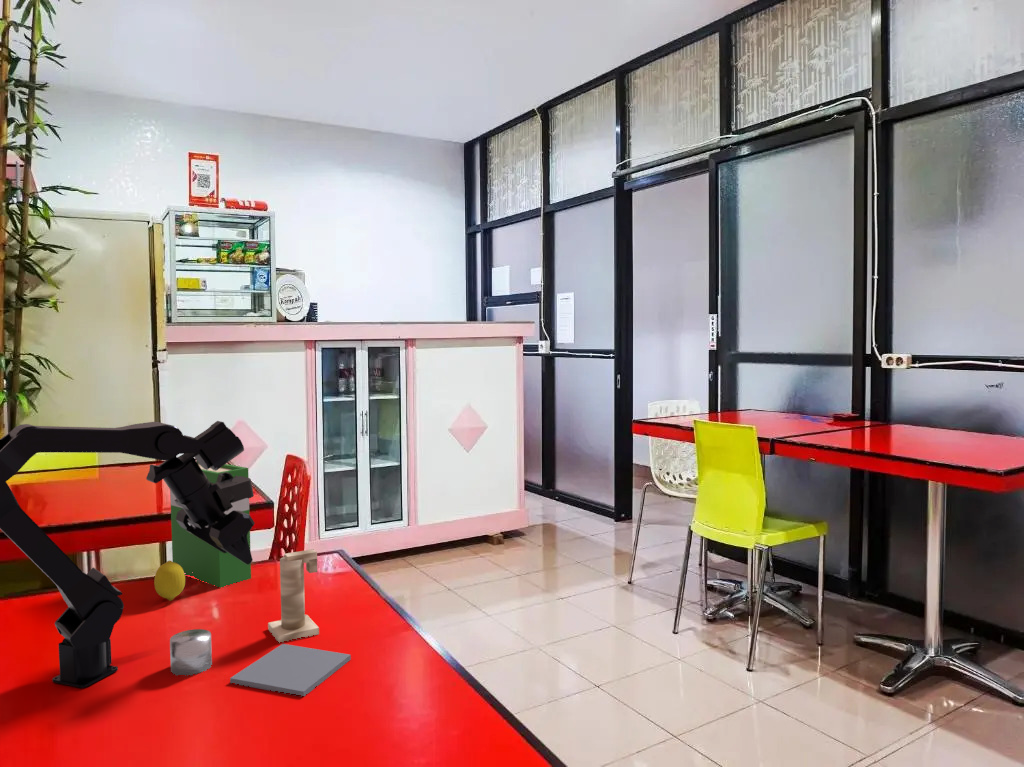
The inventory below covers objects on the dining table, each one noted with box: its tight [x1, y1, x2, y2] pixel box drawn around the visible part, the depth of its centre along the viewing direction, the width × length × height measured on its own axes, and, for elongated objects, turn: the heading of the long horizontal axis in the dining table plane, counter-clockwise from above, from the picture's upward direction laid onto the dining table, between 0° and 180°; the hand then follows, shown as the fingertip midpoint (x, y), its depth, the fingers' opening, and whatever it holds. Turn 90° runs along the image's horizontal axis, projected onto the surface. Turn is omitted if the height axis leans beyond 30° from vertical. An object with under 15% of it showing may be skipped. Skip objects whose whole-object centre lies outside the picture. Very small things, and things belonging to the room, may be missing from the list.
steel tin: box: [169, 628, 213, 677], centre depth 118 cm, size 6×6×5 cm
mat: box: [229, 643, 352, 697], centre depth 117 cm, size 13×13×1 cm
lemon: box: [153, 560, 186, 602], centre depth 147 cm, size 6×6×8 cm
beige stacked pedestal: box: [267, 549, 320, 644], centre depth 132 cm, size 8×7×14 cm
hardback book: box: [169, 461, 252, 589], centre depth 162 cm, size 18×7×24 cm, turn 55°
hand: (238, 557), depth 132 cm, fingers open, 9 cm apart
